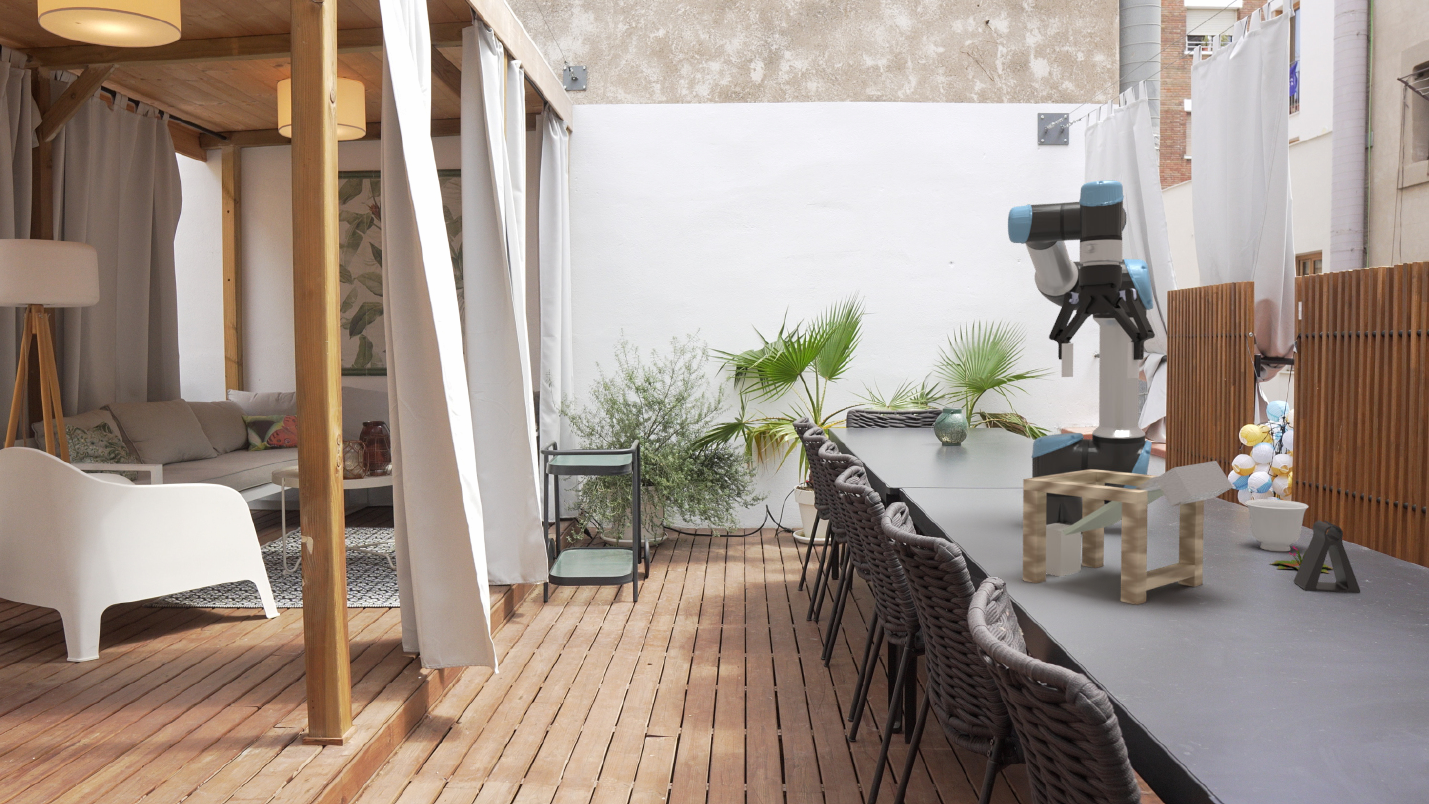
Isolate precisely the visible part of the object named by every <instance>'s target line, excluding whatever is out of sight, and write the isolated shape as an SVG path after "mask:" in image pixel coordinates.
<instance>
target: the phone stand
mask: <svg viewBox="0 0 1429 804" xmlns="http://www.w3.org/2000/svg"><path fill="white" fill-rule="evenodd" d="M1312 531H1313V532H1312V533H1313V534H1312V536H1311V537H1312V538H1311V540H1310V542H1309V545H1308V547H1307V549H1306V551H1305V552H1306V554H1305V553H1304V554H1305V556H1304V558H1303V557H1302V558H1303V560H1302V563H1301V565H1300V566H1298V568H1299V569H1297V572H1296V574H1295V577H1294V579H1293V582H1294V584H1296V585H1297V586H1299V587H1300V588H1302V589H1303V590H1304V591H1307V592H1327V593H1328V592H1329V593H1331V592H1333V593H1345V594H1347V593H1348V594H1360V593H1361V589H1360V586H1359V583H1358V581H1357V578H1356V576H1355V573H1354V571H1353V568H1352V565H1351V562H1350V560H1349V557H1348V555H1347V551H1346V548H1345V547H1344V544H1343V536H1344V531H1343V529H1342V528H1341V527H1340V526H1337V525H1335V524H1333V523H1331V522H1329V521H1327V520H1324V521H1322V520H1319V519H1318V520H1316V521H1315V522H1314V523H1313V525H1312ZM1327 555H1329V558H1330V562H1331V568H1333V569H1332V570H1333V574H1334V578H1335V582H1327V581H1326V582H1323V581H1322V582H1321V581H1319V579H1320V576H1321V573H1322V572H1321V570H1322V569H1323V568H1322V567H1323V564H1325V561H1326V558H1327Z"/></svg>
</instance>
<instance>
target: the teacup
mask: <svg viewBox="0 0 1429 804" xmlns="http://www.w3.org/2000/svg"><path fill="white" fill-rule="evenodd" d="M1244 503H1245V505H1246V506H1247V509H1248V513H1249V521H1250V529H1251V533H1252V535H1253V538H1254V539H1255V540H1257V542H1260V549H1262V550H1265V551H1269V552H1290V551H1291V545H1293V544H1295V543H1296V542H1297V541H1298V540H1299V539H1300V536H1301V533H1302V528H1303V527H1302V526H1303V521H1304V516H1305V513H1306V510H1307V509H1308V508H1309V505H1308V504H1306V503H1303V502H1299V501H1293V500H1283V499H1265V498H1264V499H1262V498H1258V499H1248V500H1246V501H1245V502H1244Z"/></svg>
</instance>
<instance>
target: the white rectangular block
mask: <svg viewBox="0 0 1429 804" xmlns="http://www.w3.org/2000/svg"><path fill="white" fill-rule="evenodd" d="M1069 526H1071V525H1066V524H1060V523H1054V524H1049V525H1046V573H1047V574H1046V575H1048V574H1051V575H1050V576H1053V575H1055V576H1054V577H1058V576H1060V577H1059V578H1062V577H1066V576H1069V574H1070V575H1073V574H1076V573H1081V570H1082V568H1081V567H1082V533H1081V532H1079V533H1074V534H1070V535H1064V533H1063V530H1064V529H1066V528H1068V527H1069ZM1065 575H1066V576H1065ZM1061 576H1062V577H1061Z"/></svg>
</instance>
